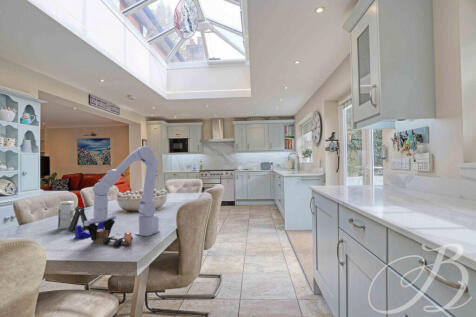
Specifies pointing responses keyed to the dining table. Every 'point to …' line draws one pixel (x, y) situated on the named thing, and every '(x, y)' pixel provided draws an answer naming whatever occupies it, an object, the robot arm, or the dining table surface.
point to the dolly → (117, 240)
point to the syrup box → (65, 214)
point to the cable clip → (81, 234)
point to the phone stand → (76, 218)
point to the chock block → (101, 235)
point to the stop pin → (127, 239)
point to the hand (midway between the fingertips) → (100, 238)
